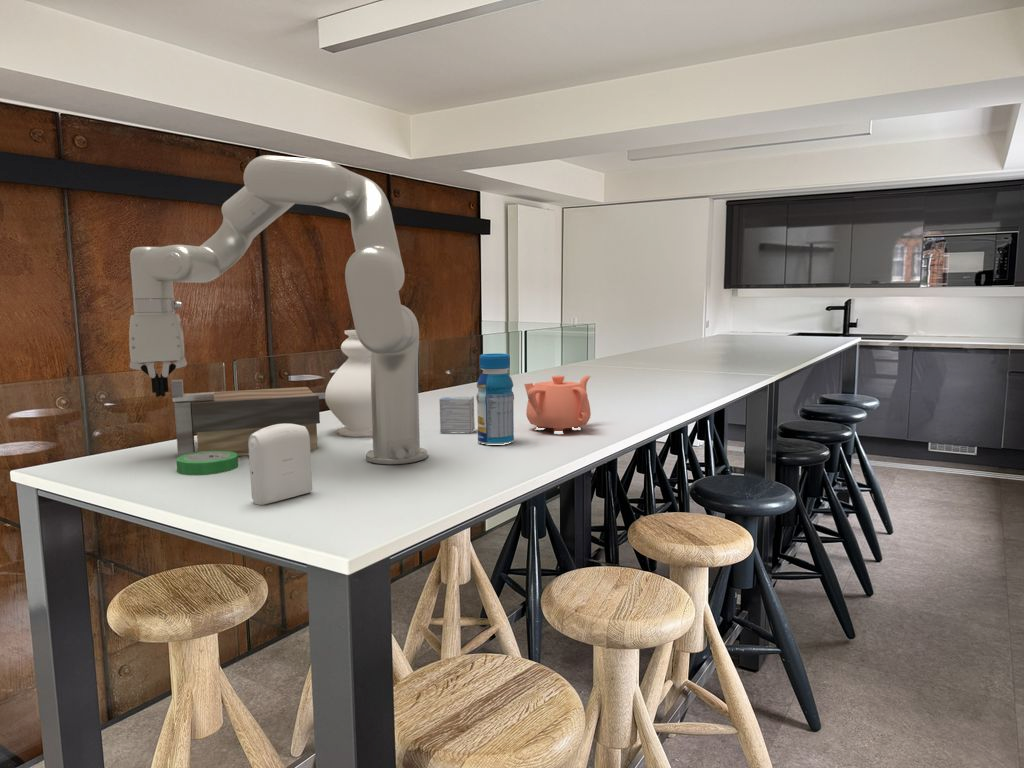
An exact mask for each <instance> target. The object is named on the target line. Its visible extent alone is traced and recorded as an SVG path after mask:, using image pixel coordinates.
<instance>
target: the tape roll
mask: <svg viewBox="0 0 1024 768" xmlns="http://www.w3.org/2000/svg"><path fill="white" fill-rule="evenodd" d="M238 457H239V456H238V455H237V454H236V453H235V452H230V451H204V452H198V451H197V452H196V451H195V453H190V454H186V455H182V456H180V457H178V456H177V457H176V472H177V473H178V474H180V475H185V476H207V475H214V474H219V473H225V472H229V471H232V470H235V469H237V468H238V467H239V458H238Z"/></svg>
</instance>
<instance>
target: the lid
mask: <svg viewBox="0 0 1024 768" xmlns="http://www.w3.org/2000/svg"><path fill="white" fill-rule="evenodd" d="M213 392H214V400H197V401H192V415H193V430H194V434H195V433H196V434H197V432H210V431H223V430H237V429H250V428H264V427H268V426H272V425H276V424H297V425H305V424H320V423H321V420H320V419H321V418H320V416H321V415H320V395H316V394H315V393H314V392H313V391H312V390H311V389H310V388H309V387H308V386H298V387H282V388H263V389H246V390H226V391H213ZM204 393H208V392H204Z"/></svg>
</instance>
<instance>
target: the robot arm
mask: <svg viewBox="0 0 1024 768" xmlns="http://www.w3.org/2000/svg"><path fill="white" fill-rule="evenodd" d="M243 183H244V186H243V187H242V188H241V189H239V190H238V191H237V192H235V193H234V194H233V195H232V196H230V198H228V199H227V200H226V201H224V203H223V204H222V206H221V214H222V217H223V219H222V223H221V225H220V227H219V228H218V230H217V231H216V232H215V233H214V234H212V236H211V237H209V238H208V239H207V240H206V241H205V242H203V243H202V244H201V245H199V246H198V245H197V246H196V245H186V244H171V245H166V246H136V247H133V248H132V249H131V250H130V252H129V261H130V274H131V287H132V289H131V290H132V299H133V300H132V301H133V312H134V313H133V314H131V315H130V318H129V328H128V329H129V331H128V332H129V333H128V335H129V337H128V345H129V357H130V362H129V368H130V369H132V370H136V371H137V370H138V371H142V372H143V373H145V374H146V375H147V376H148V377H149V378H150V380H151V390H152V392H151V393H153V394H155V397H156V398H159V397H161V398H162V397H163V398H164V397H165V396H166V393H169V391H170V390H169V378H168V377H169V375H170V374H171V373H172V372H173V371H174V370H176V369H180V368H183V367H186V366H187V365H188V362H187V360H186V357H185V356H186V349H185V340H184V339H185V338H184V331H183V326H182V325H183V324H182V320H181V316H180V313H176V310H178V309H183V303H182V301H176V300H175V295H174V283H185V284H190V283H193V284H194V283H198V284H205V283H209V282H212V281H214V280H215V279H217V278H219V277H220V276H222V275H223V274H224V273H225V272H226V271H228V270H229V269H230V268H231V267H233V266H234V265H235V264H236V263H237V262H238V261H240V260H241V258H242V257H243V256H244V255H245V253H246V252H247V251H248V249H249V248H250V246H251V244H252V242H253V240H254V239H255V237H257V236H258V235H259V234H260V233H261V232H262V231H264V230H265V229H266V228H267V227H269V226H270V225H271V224H272V223H274V222H275V221H276V220H277V219H278V218H279V217H281V216H282V215H283V214H284V213H286V212H287V211H288V210H290V208H292V207H293V206H294V205H306V206H316V207H321V208H325V209H327V210H329V211H335V212H340V213H344V214H346V215H347V216H349V218H350V225H351V226H350V227H351V228H350V229H351V230H350V231H351V237H352V239H353V240H352V241H353V244H354V250H355V252H353V253H352V254H351V255H350V257H349V258H348V260H347V262H346V266H345V270H344V278H345V279H344V280H345V286H346V291H347V295H348V301H349V306H350V310H351V315H352V320H353V325H354V330H356V333H357V336H358V339H359V341H360V342H361V344H362V345H363V346H364V347H365V348H366V349H367V350H369V351H371V352H372V353H371V404H372V433H373V436H372V449H371V450H368V451H367V452H366V453H365V460H366V461H367V462H370V463H373V464H379V465H399V464H409V463H416V462H419V461H420V462H421V461H423V460H425V459H426V458H428V456H429V455H428V450H427V449H426V448H423V447H421V444H420V443H421V440H420V407H419V406H420V403H419V400H420V399H419V398H420V397H419V347H420V328H419V323H418V320H417V317H416V316H415V313H413V311H412V310H411V309H410V308H409V307H407V306H405V305H403V304H401V303H402V302H401V298H400V294H399V293H400V290H401V289H402V287H403V285H404V282H405V277H406V276H405V268H404V264H403V261H402V260H403V259H402V256H401V251H400V246H399V241H398V236H397V231H396V228H395V223H394V219H393V214H392V209H391V206H390V205H391V204H390V203H389V200H388V198H387V196H386V193H385V192H384V191H383V189H382V188H381V187H380V186H379V185H378V184H377V183H376V182H374V181H373V180H371V179H370V178H368V177H366V176H363V175H362V174H358V173H356V172H354V171H351V170H349V169H347V168H345V167H343V166H341V165H339V164H338V163H336V162H333V161H330V160H326V159H321V158H320V159H319V158H318V159H317V158H306V157H294V156H283V155H282V156H281V155H273V154H272V155H271V154H266V155H264V154H263V155H260V156H257V157H255V158H254V159H252V160H250V162H248V164H247V165H246V166H245V169H244V171H243ZM160 363H162V369H161V370H162V371H161V373H160V376H159V374H158V373H157V370H156V365H155V364H160Z"/></svg>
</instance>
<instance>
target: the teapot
mask: <svg viewBox="0 0 1024 768" xmlns="http://www.w3.org/2000/svg"><path fill="white" fill-rule="evenodd" d="M590 378H591V375H586V376H583V377H582V378H581V380H580V381H579V382H574V381H564V380H565V376H564V375H552V376H551V379H552V380H551V381H550V380H549V381H542V382H540V381H539V382H535V383H533V382H530V383H524V387H525V392H526V394H527V399H528V400H527V405H526V411H525V413H526V418H527V421H528V422H529V424H531V425H533V426H535V428H536V427H538V428H545V427H546V428H549V429H550V428H551V429H553V431H563V430H564V431H565V429H571V428H572V427H574V428H578V427H581V426H586V425H587V424H588V422H589V420H590V419H591V406H590V401H589V399H588V398H589V397H588V393H587V383H588V382H589V379H590Z"/></svg>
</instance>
